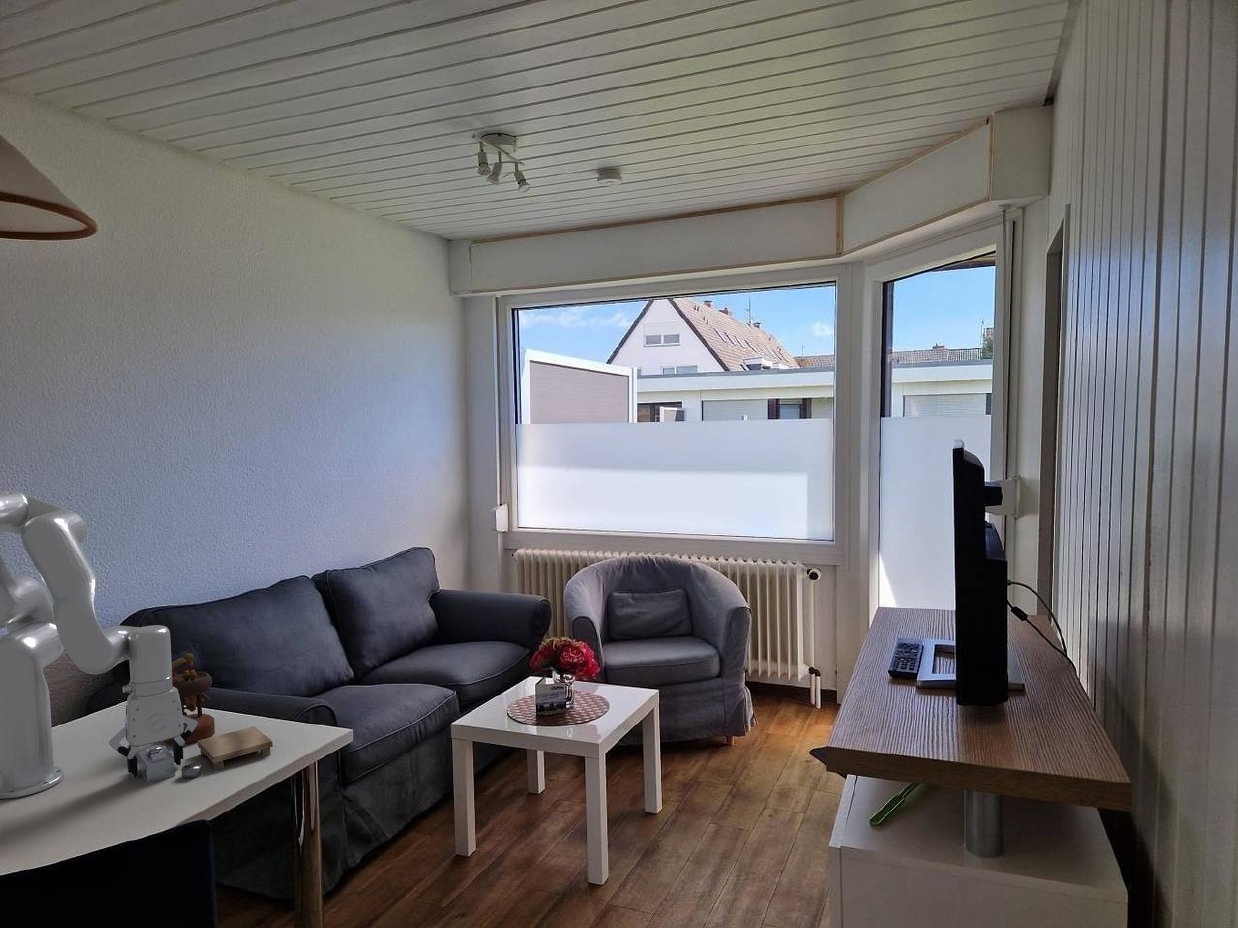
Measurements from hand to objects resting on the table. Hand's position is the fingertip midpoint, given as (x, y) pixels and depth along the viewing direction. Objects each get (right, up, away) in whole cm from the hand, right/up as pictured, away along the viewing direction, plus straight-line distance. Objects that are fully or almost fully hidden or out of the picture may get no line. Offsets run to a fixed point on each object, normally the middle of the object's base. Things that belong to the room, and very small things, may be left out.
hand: (156, 768), depth 169 cm
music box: (-3, 0, +20) cm, 20 cm away
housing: (0, -1, 0) cm, 1 cm away
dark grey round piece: (+8, -1, -2) cm, 9 cm away
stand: (+13, 0, +8) cm, 15 cm away
